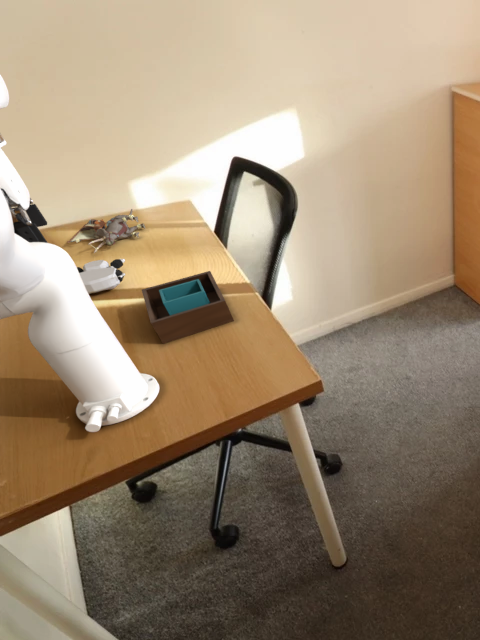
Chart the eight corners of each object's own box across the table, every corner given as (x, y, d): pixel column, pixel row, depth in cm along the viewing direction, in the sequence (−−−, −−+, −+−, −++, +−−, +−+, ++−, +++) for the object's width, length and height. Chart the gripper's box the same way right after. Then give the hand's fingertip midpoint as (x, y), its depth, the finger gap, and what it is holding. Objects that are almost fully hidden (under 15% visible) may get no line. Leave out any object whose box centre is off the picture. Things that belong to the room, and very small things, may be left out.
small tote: (208, 300, 112) (198, 278, 108) (214, 313, 108) (204, 291, 104) (170, 311, 108) (158, 289, 104) (175, 325, 104) (163, 303, 100)
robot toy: (75, 279, 120) (66, 305, 110) (65, 263, 118) (55, 288, 107) (132, 267, 125) (129, 291, 115) (124, 252, 123) (119, 274, 112)
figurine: (122, 234, 127) (49, 242, 123) (134, 253, 131) (63, 262, 127) (141, 201, 141) (75, 207, 137) (151, 219, 145) (88, 226, 141)
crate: (234, 320, 107) (225, 300, 103) (163, 344, 100) (150, 323, 96) (218, 290, 116) (210, 270, 113) (152, 309, 110) (141, 289, 106)
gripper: (-56, 128, 78) (12, 224, 89) (-71, 157, 68) (8, 261, 79) (3, 122, 82) (62, 214, 93) (-3, 148, 71) (64, 249, 82)
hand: (37, 236), depth 86 cm, fingers open, 9 cm apart
